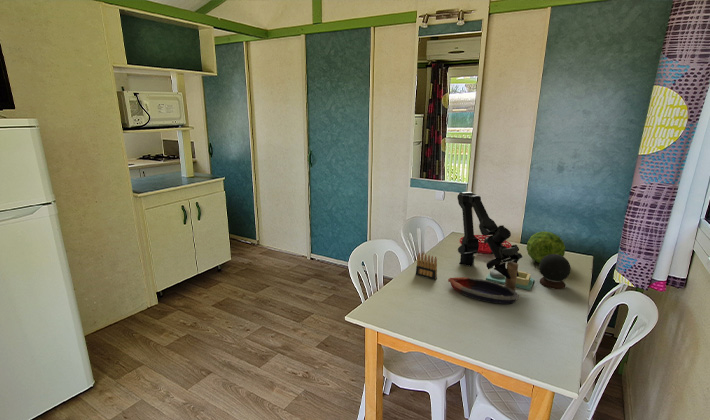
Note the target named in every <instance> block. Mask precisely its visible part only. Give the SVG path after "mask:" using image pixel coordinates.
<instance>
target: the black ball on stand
mask: <svg viewBox="0 0 710 420" xmlns="http://www.w3.org/2000/svg"><path fill="white" fill-rule="evenodd" d="M538 268H539V273H540V274H541V276H542V277H541V278H540V279H539V284H540V285H541V286H543V287H545V288H547V289H551V290H564V289H566V286H567V285H566V283H565V280H566V279H567V278H568V277H569V275H570V274H571V272H572V271H571V265H570V262H569V260H568V259H567V258H566V257H565V256H561V255H558V254H550V255H547V256H545V257H544V258H543V259H542V260H541V262H540V264H539V267H538Z"/></svg>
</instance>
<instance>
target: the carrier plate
mask: <svg viewBox="0 0 710 420" xmlns="http://www.w3.org/2000/svg"><path fill="white" fill-rule="evenodd" d="M518 275H519V276H518V277H517V279H516V287H515V288H519V289H523V290H527V291H531V289H532V287H533V283H534V281H535V278H533V277H531V273H528V272H525V271H521V270H518ZM505 279H506V277H505V276H504V275H502V274H501V273H500V272H498V271H497V270H494V269H490V272H489V273H488V274H487V276H486V278H485V280H486V281H491V282H494V283H498V284H501V285H505Z"/></svg>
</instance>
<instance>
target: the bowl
mask: <svg viewBox="0 0 710 420" xmlns="http://www.w3.org/2000/svg"><path fill="white" fill-rule="evenodd" d="M474 236H475V237H476V238H478V243H479V249H478V251H477V253H481V254H488V255H489V254H490V255H491V252H492V251H491V249H490V247H489V245H488V244H487V243H484V240H485V238H486V237H489V236H490V235H486V236H484V235H482V234H474ZM463 237H464V236H461V238H460V239H459V244H460V246H461V245H462V239H463ZM502 245H503V246H506V247H507V248H511V246H512V244H511V243H510V242H509V241H508V240H506V241H504V242H503V243H502Z"/></svg>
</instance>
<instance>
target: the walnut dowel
mask: <svg viewBox="0 0 710 420" xmlns="http://www.w3.org/2000/svg"><path fill="white" fill-rule="evenodd" d="M506 263H507V262H506ZM506 269H507V271H508V273H509V275H510V277H511V279H508V278H506V279H505V284H504V286H506V287H508V288H510V289H512V290H514V291H515V292H516V288H517V287H516V279H517V271H519V264H518V262H517V263H515V262H508V263H507V264H506Z"/></svg>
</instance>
